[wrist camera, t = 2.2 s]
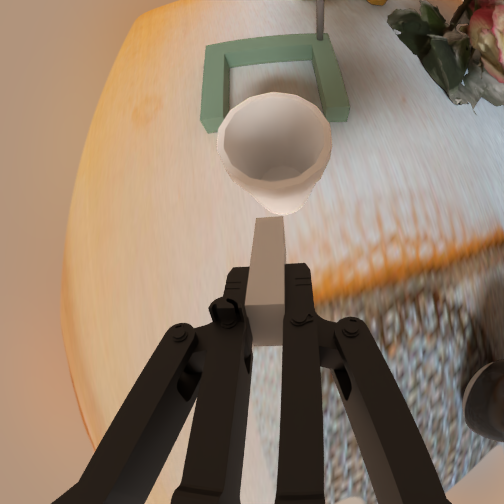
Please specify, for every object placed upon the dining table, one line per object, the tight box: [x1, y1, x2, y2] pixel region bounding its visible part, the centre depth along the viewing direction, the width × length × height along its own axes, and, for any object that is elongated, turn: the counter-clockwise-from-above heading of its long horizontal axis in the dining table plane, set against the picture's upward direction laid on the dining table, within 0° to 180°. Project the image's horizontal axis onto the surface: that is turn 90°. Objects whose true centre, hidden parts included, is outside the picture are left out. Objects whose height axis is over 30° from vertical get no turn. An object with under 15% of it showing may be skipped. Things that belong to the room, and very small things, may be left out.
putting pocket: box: [200, 0, 350, 133], centre depth 28 cm, size 16×22×18 cm
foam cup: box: [217, 92, 332, 215], centre depth 28 cm, size 10×9×13 cm
